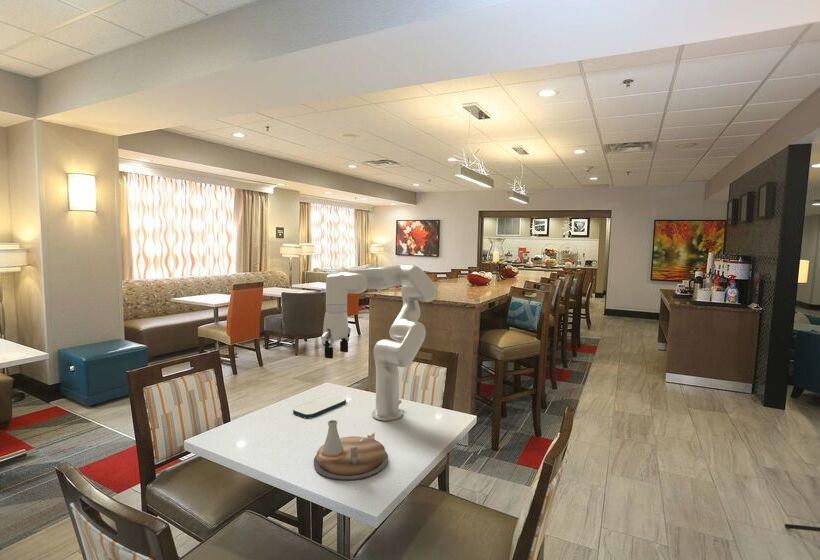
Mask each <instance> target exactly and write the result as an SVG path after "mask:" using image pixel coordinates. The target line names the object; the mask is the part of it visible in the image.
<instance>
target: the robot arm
mask: <svg viewBox="0 0 820 560" xmlns="http://www.w3.org/2000/svg"><path fill="white" fill-rule="evenodd" d="M398 286H401V288H400V292H401V293H400V294H401V298H402V308H401V310H400V311H399V313H398V314H397V317H396V318H395V320H394V321H393V323H391V326H390V328H389V333H388V334H389V337H390V338H391V339H388V338H387V339H380V340H378V341H376V343H375V344H374V347H373V358H374V359H373V360H374V363H375V365H374V366H375V409H374V410H372V412H371V416H372V417H373V418H374V419H375V420H378V421H386V422H390V421H396V420H399V419H400V418H402V416H403V410H402V409H400V407H399V406H400V405H401V404H402V399H399V398H400V371H399V368H407V367H408V366H409V365H410V364H411V363H412V362H413V361H414V359H415V357H416V356H417V354H418V353H419V350H420V349H421V347H422V346H423V343H424V341H425V340H426V335H427V334H426V333H427V332H426V326H424V323H422V322H419V320H420V317H421V309H420V304H419V302H427V303H428V302H433V301H434V300H435V299H436V297H437V296H438V295H437V294H438V289H437V286H436V284H435V282H434V281H433V280H432V279H431V277H429V276H428V275H427V273H426V272H425V271H424V270H423V269H422V268H420V266H417V265H412V264H411V265H410V264H409V265H408V264H396V265H395V264H394V265H388V266H382V267H372V268H371V267H370V268H364V269H363V268H362V269H354V270H353V269H352V270H345V271H341V272H338V273H332V274H331V273H330V274H327V276H326V277H325V313H324V317H323V318H324V319H323V328H322V329H323V331H322V335H321V337H320V339H321V343H322V345H323V348H324V358H325V359H333V358H334V346H333V344H334V343H335V342H337V341H339V340H340V341H339V352H341V353H348V352H349V341H350V336H351V330H352V328H351V327H349V319H348V318H349V317H348V316H349V315H348V294H356V295H357V294H362V293H364V292H365V291H367V289H370V290H371V289H372V290H381V289H388V288H392V287H393V288H394V287H398ZM392 339H393V340H392Z"/></svg>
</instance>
